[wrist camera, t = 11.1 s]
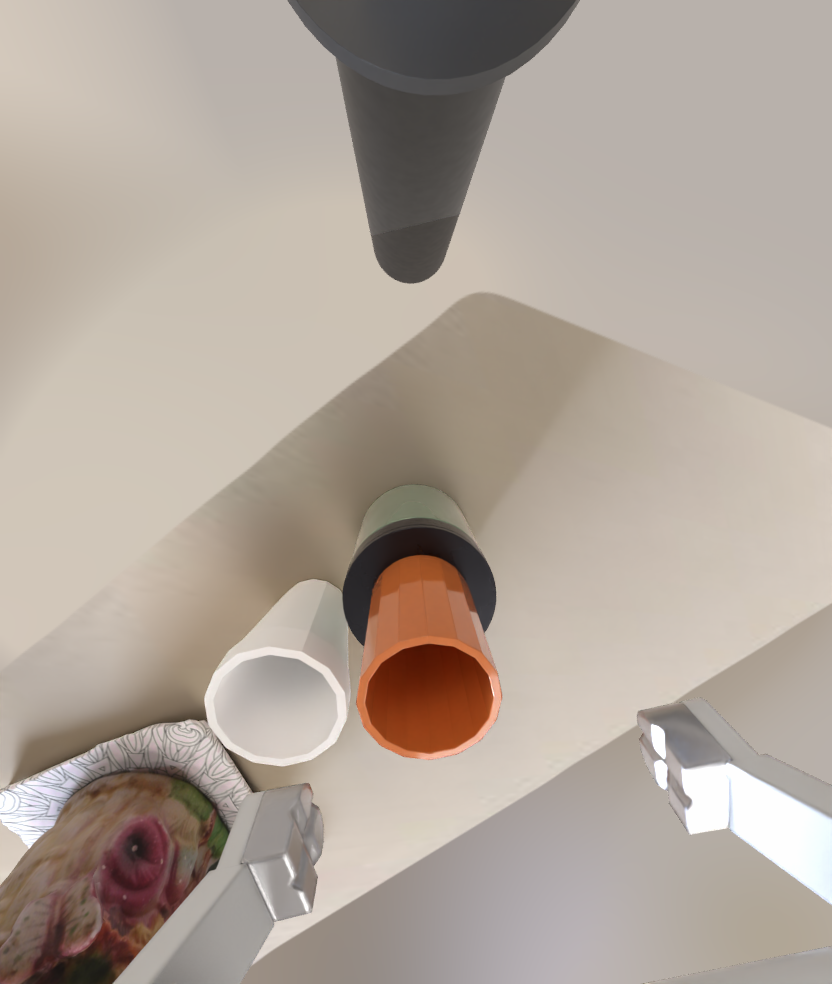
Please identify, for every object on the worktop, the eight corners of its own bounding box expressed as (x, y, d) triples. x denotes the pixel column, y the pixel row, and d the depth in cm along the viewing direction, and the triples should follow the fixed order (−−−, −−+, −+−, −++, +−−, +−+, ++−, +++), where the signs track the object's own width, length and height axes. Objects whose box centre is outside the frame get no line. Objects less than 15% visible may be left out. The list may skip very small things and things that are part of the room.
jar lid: (328, 536, 28) (323, 547, 26) (475, 502, 28) (480, 511, 26) (366, 662, 31) (364, 681, 29) (501, 632, 30) (508, 649, 28)
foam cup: (260, 642, 41) (198, 755, 29) (271, 556, 39) (209, 637, 26) (355, 657, 42) (336, 773, 29) (372, 574, 40) (358, 660, 27)
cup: (360, 567, 27) (340, 654, 18) (458, 544, 26) (487, 622, 18) (384, 652, 28) (377, 772, 19) (477, 632, 28) (512, 742, 19)
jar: (348, 498, 38) (325, 544, 27) (455, 472, 38) (478, 509, 26) (375, 595, 40) (365, 675, 29) (476, 572, 40) (505, 643, 29)
